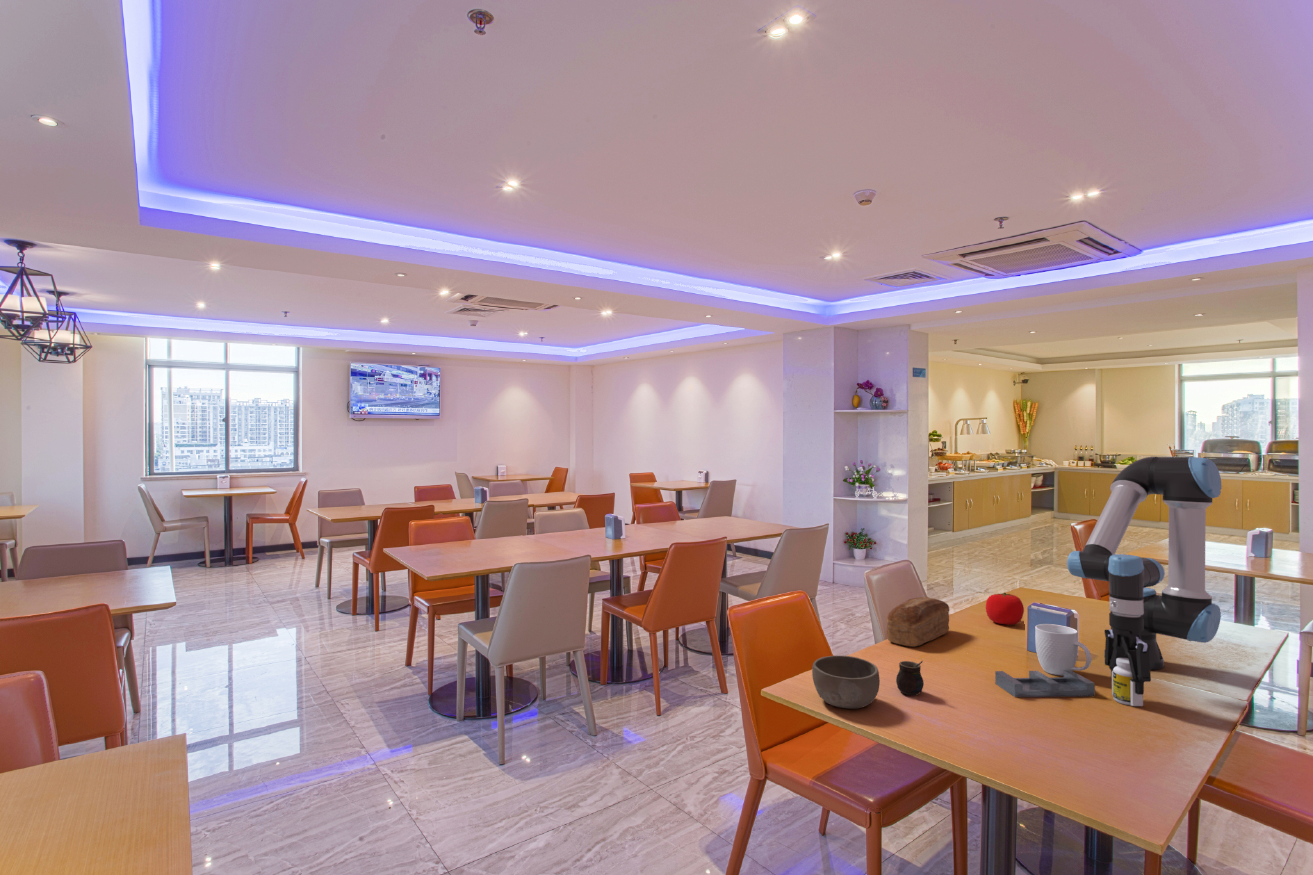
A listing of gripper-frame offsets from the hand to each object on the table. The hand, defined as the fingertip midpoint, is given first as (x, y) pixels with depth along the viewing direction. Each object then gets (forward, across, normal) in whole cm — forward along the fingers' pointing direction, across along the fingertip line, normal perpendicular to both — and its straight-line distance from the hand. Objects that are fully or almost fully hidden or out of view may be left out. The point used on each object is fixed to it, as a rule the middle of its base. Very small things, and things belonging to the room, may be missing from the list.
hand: (1127, 700), depth 175 cm
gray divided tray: (0, -9, -17) cm, 19 cm away
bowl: (+1, -2, -75) cm, 75 cm away
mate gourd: (+1, -8, -55) cm, 56 cm away
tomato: (+1, -76, +9) cm, 77 cm away
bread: (+1, -59, -31) cm, 67 cm away
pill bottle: (+1, 0, 0) cm, 1 cm away
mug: (+1, -22, -4) cm, 22 cm away
